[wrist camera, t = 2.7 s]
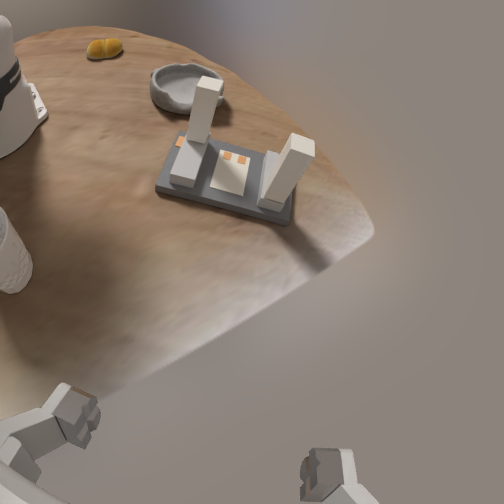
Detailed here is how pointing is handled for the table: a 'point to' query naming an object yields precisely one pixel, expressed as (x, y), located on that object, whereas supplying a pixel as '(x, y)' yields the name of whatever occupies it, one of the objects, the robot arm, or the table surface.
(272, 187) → the front knob
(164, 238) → the table surface
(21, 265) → the white cup
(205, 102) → the rear knob
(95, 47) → the bread roll
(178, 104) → the dish
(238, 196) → the switch box
